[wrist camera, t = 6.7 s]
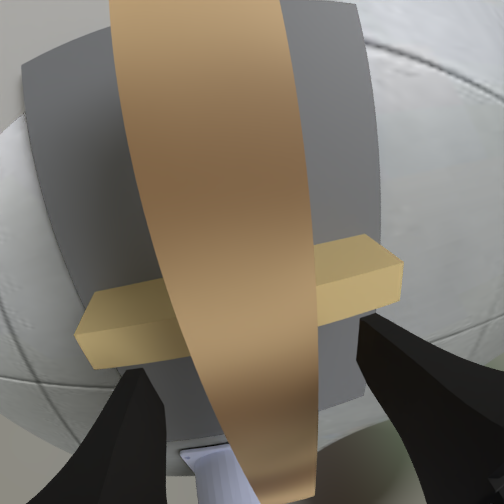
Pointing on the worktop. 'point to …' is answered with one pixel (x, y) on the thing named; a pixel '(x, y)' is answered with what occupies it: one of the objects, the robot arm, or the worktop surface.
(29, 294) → the worktop surface
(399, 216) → the worktop surface
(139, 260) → the ridge stand
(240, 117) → the oak beam
